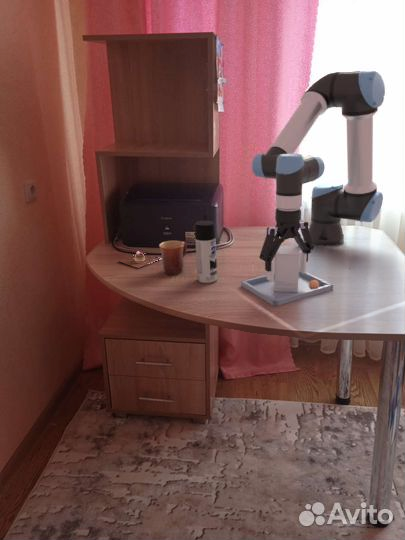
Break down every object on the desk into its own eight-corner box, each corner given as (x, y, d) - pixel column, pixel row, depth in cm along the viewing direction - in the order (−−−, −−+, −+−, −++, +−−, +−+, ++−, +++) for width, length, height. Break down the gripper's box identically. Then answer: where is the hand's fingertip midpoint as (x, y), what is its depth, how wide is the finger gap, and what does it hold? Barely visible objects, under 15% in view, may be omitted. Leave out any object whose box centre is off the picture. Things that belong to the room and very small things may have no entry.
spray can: (213, 284, 155) (211, 226, 147) (194, 282, 157) (191, 224, 150) (219, 277, 160) (218, 220, 153) (201, 275, 163) (198, 219, 155)
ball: (314, 287, 148) (314, 277, 146) (321, 290, 145) (321, 280, 144) (306, 289, 146) (306, 279, 145) (313, 292, 144) (313, 283, 142)
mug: (175, 278, 161) (173, 250, 157) (156, 273, 166) (153, 246, 162) (196, 267, 170) (194, 240, 166) (177, 263, 175) (175, 236, 171)
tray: (296, 273, 160) (296, 267, 160) (332, 291, 146) (333, 284, 145) (241, 288, 151) (241, 281, 150) (274, 308, 136) (274, 301, 135)
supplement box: (298, 292, 144) (299, 254, 139) (273, 291, 145) (274, 253, 140) (298, 282, 151) (299, 245, 146) (274, 281, 152) (275, 245, 147)
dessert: (162, 261, 179) (161, 249, 177) (138, 270, 171) (137, 258, 169) (141, 255, 187) (140, 243, 185) (117, 264, 178) (116, 252, 177)
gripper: (311, 199, 147) (308, 264, 155) (247, 211, 137) (247, 280, 145) (328, 204, 141) (324, 271, 149) (262, 217, 130) (261, 288, 138)
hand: (286, 276), depth 147 cm, fingers open, 12 cm apart
